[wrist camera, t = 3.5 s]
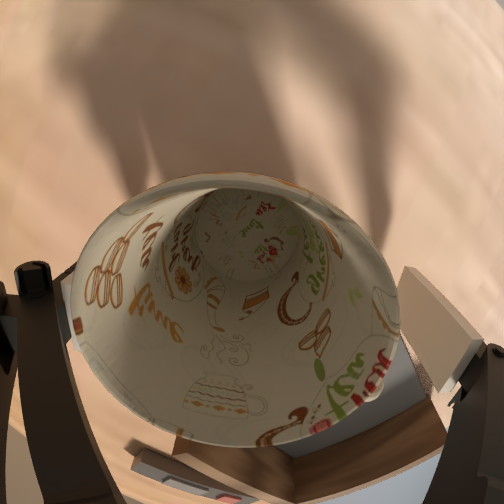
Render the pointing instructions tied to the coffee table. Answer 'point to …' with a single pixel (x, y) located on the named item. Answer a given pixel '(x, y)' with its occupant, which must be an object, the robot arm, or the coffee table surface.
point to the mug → (235, 310)
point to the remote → (186, 478)
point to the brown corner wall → (323, 460)
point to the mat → (369, 407)
